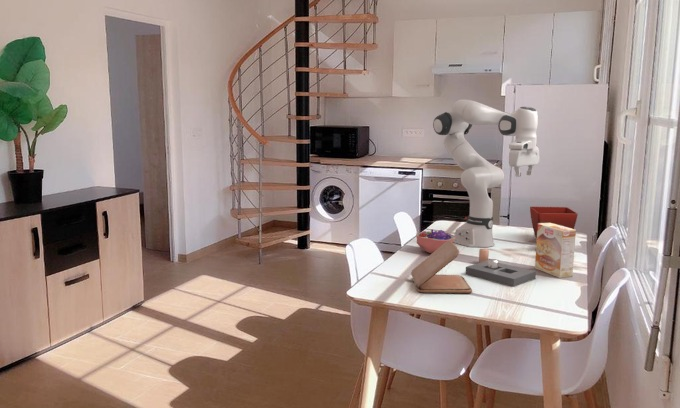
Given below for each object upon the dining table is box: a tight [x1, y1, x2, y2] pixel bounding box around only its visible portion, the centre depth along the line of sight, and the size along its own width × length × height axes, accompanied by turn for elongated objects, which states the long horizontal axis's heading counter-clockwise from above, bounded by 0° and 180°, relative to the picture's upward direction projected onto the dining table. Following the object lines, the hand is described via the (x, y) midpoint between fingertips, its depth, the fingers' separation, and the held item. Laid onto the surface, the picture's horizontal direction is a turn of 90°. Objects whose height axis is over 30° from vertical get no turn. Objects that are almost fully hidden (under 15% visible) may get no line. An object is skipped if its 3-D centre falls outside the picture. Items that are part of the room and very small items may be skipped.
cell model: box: [415, 229, 456, 254], centre depth 260 cm, size 17×20×11 cm
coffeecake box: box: [534, 223, 577, 279], centre depth 228 cm, size 15×7×20 cm, turn 20°
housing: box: [465, 260, 537, 287], centre depth 223 cm, size 22×16×3 cm
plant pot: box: [529, 206, 578, 240], centre depth 282 cm, size 19×19×17 cm
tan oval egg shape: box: [478, 248, 490, 263], centre depth 242 cm, size 4×4×6 cm
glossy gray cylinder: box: [488, 258, 499, 270], centre depth 225 cm, size 4×4×6 cm
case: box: [410, 241, 473, 294], centre depth 209 cm, size 20×21×16 cm
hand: (523, 175), depth 245 cm, fingers open, 8 cm apart
